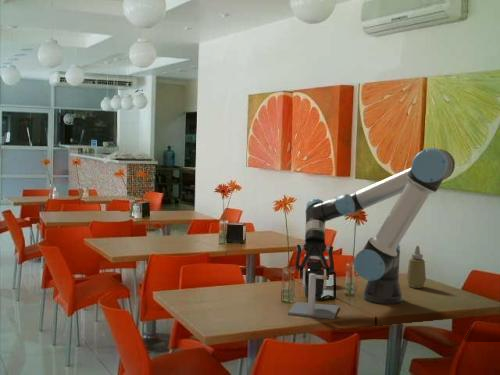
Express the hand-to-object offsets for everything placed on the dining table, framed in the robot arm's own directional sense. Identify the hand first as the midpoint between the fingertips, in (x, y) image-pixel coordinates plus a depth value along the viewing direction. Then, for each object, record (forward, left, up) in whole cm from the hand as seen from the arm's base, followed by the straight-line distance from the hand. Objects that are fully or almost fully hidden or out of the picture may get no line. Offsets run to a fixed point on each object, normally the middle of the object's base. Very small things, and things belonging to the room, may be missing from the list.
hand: (314, 286), depth 214 cm
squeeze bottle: (-36, -58, -10) cm, 69 cm away
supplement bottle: (+1, -4, -4) cm, 6 cm away
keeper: (0, -2, -10) cm, 10 cm away
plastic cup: (+7, -51, -10) cm, 53 cm away
